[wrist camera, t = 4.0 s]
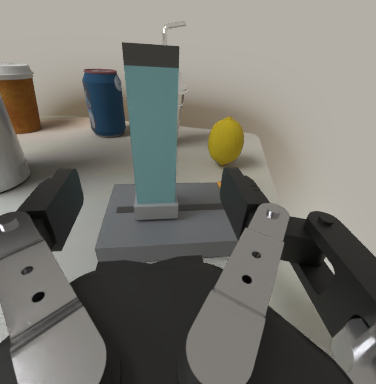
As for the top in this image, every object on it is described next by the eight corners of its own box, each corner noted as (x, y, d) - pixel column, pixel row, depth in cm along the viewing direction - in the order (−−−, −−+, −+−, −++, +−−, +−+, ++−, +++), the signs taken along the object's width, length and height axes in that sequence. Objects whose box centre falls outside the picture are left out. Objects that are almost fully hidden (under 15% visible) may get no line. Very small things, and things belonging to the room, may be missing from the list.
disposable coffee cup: (59, 127, 48) (42, 65, 42) (17, 139, 41) (-12, 67, 34) (29, 120, 51) (8, 61, 44) (-16, 131, 43) (-48, 62, 37)
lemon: (211, 156, 39) (217, 110, 35) (241, 162, 38) (251, 115, 33) (201, 167, 35) (205, 117, 31) (234, 176, 33) (244, 124, 29)
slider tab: (135, 220, 20) (116, 41, 13) (138, 195, 23) (124, 43, 16) (177, 218, 21) (183, 46, 13) (174, 194, 24) (178, 47, 16)
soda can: (132, 131, 49) (127, 70, 42) (113, 140, 43) (103, 72, 36) (106, 126, 50) (97, 67, 44) (85, 135, 45) (71, 69, 38)
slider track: (99, 264, 18) (94, 247, 17) (116, 198, 27) (113, 183, 25) (263, 253, 20) (269, 237, 19) (232, 195, 29) (234, 180, 28)
